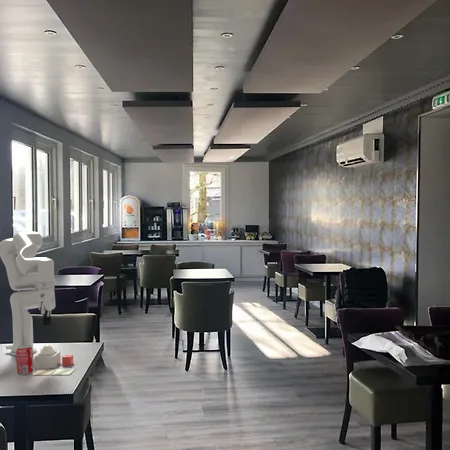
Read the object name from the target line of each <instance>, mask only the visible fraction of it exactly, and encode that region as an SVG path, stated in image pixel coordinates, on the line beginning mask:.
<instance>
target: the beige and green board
mask: <svg viewBox="0 0 450 450" xmlns="http://www.w3.org/2000/svg"><path fill="white" fill-rule="evenodd" d="M75 370H76V369H75V368H67V369H66V368H63V369H61V368H60V369H59V368H58V369H55V368H42V369H37V370H36V371H35V372H33V373H31V376H32V377H39V376H41V377H42V376H45V377H46V376H47V377H49V376H51V377H52V376H70V375H71V374H73V373H74V372H75Z"/></svg>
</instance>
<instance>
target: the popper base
mask: <svg viewBox="0 0 450 450" xmlns="http://www.w3.org/2000/svg"><path fill="white" fill-rule="evenodd" d="M60 364H62V355H61V350H60V351H59V350H55V354H54V355H53V356H40V352H38V353H37V354H36V355H34V369H55V368H56V367H57V366H58V365H60Z"/></svg>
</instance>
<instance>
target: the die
mask: <svg viewBox="0 0 450 450" xmlns="http://www.w3.org/2000/svg"><path fill="white" fill-rule="evenodd" d="M73 364H74V355H73V354H65V355H63V356H61V366H62V367H66V366H67V367H69V366H71V367H72V365H73Z"/></svg>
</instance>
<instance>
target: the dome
mask: <svg viewBox="0 0 450 450" xmlns="http://www.w3.org/2000/svg"><path fill="white" fill-rule="evenodd" d="M55 351H56V348H55V347H53V346H52V345H51V344H45V345H43V347H42V348H41V349H40V351H39V353H40V356H53V355H54V354H55Z"/></svg>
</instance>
